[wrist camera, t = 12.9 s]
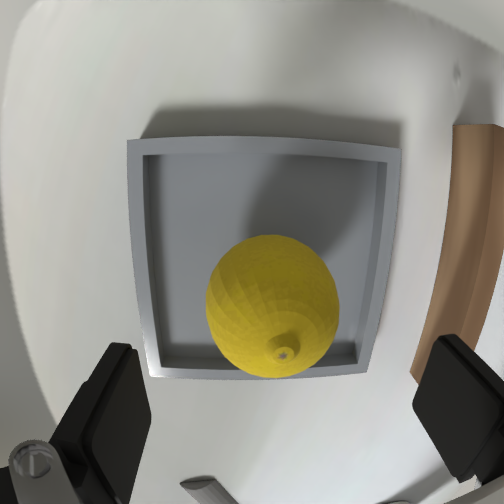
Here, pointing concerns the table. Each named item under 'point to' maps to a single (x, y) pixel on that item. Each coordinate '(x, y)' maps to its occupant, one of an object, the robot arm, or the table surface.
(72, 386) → the table surface
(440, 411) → the robot arm
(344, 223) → the gray tray
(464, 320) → the walnut wall
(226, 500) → the half round rod
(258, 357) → the lemon
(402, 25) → the table surface
